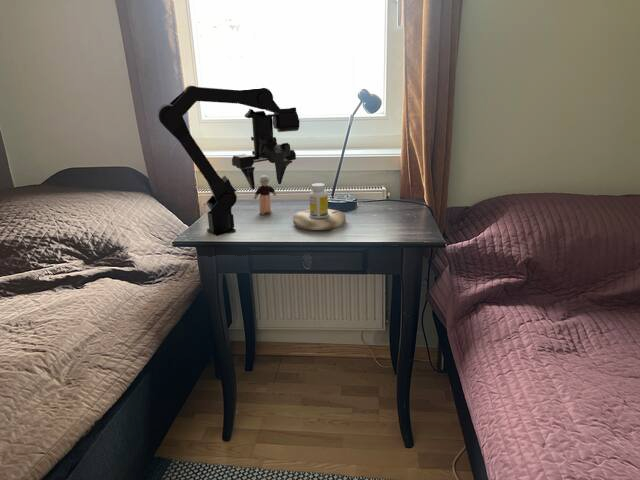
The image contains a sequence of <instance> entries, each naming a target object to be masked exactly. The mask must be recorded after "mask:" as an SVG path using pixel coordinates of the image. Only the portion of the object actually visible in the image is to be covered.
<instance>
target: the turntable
mask: <svg viewBox="0 0 640 480" xmlns="http://www.w3.org/2000/svg"><path fill="white" fill-rule="evenodd" d="M346 217H347V216H346V213H344V212H342V211H340V210H336V209H331V208H328V216H327V217H325V218H313V217H311V216H310V209H306V210H301V211H298V212H296V213H295V214H293V215H292V221H293V224H294V225H295V227H298V228H302V229H306V230H312V231H314V230H315V231H316V230H317V231H321V230H322V231H323V230H330V229H331V230H332V229H335V228H338V227H339V228H340V227H342V226H343V225H344V224H345V223H346V221H347V220H346V219H347V218H346Z"/></svg>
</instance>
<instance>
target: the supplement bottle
mask: <svg viewBox="0 0 640 480" xmlns="http://www.w3.org/2000/svg"><path fill="white" fill-rule="evenodd" d="M328 202H329V199H328V192H327V191H326V185H325V183H324V182H322V183H321V182H316V183H312V184H311V191H310V193H309V210H310V216H311V217H313V218H325V217H327V216H328V209H329V206H328V205H329V203H328Z"/></svg>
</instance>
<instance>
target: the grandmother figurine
mask: <svg viewBox="0 0 640 480" xmlns="http://www.w3.org/2000/svg"><path fill="white" fill-rule="evenodd" d="M269 182H270V178H269V176H268V175H261V176H260V177H259V183H260V185H261V186H258V188H257V190H256V191H255V194H254V196H253V200H257V199H258V196H259V205H258V206H259V213H258V214H259V215H263V216H264V215H265V214H272V213H273V211H272V210H271V207H272V204H271V193H272V196H274V197H275V196H277V193H276V191H275V189H274V188H273V187H272V186H270V185H269Z"/></svg>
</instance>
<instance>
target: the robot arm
mask: <svg viewBox="0 0 640 480" xmlns="http://www.w3.org/2000/svg"><path fill="white" fill-rule="evenodd" d="M197 102H206V103H224V104H240V105H243V106H247V107H250V108H249V109H248V111H247V112H246V113H245V114H244V117H245V118H247V119H251V124H252V135H253V136H251V137H250V140H251V141H252V142H253V149H254V150H252V152H251V153H252V154H251V155H250V154H245V153H243V154H235V155H233V157H232V159H231V165H232V166H234V167H236V168H237V169H239V170H241V172H242V174H243V175H244V177H245V178H246V181H247V182H248V185H249V186H250V188H251V190H255V185H256V184H255V177H254V175H255V174H254V171H255V169H256V167H255V166H253V165H254V163H261V162H267V161H268V162H269V163H272V164H274V167H275V174H276V175H275V176H276V180H277V184H278V185H282V181H283V177H284V176H285V172H286V169H287V167H288V166H289V165H290V164H292V163H293V161H294V160H297V154H296V151H295V150H294V149H291V145H290V143H289V142H284V143H281V144H278V142H277V137H276V136H274V130H276V131H277V132H278V133H286V132H287V133H289V132H298V131H299V129H300V119H299V114H298V112H297V107H295V106H288V107H283V108H282V107H281V108H280V106H279V105H278V104H277V103H276V102H275V100H274V95H273V93H272V91H271V90H270V89H268V88H266V87H260V86H256V87H248V88H241V89H232V88H216V87H202V86H196V85H188V86H186V87H185V89H184V90H183V91H182V92H180V93H179V95H177V96H176V97H175V98H174V99H173V100H172V101H170V102H169V103H165V104H162V105H161V106H160V107H159V108H158V109H157V114H156V115H157V118H158V121H159V122H160V123H161V124H162V126H163V127H164V128H165V129H166V130H167V131H168V132H169V133H170V134H171V135H172V136H173V137H174V138H175V139H176V140H177V141H178V143H180V145H181V146H182V148H183V149H184V151H185V152H186V153H187V155H188V156H189V157H190V159H191V160H192V162H193V163H194V165H195V166H196V167H197V169H198V170H199V172H200V174H201V175H202V176H203V178H204V179H205V182H206V183H207V185H208V188H209V190H210V192H211V196H210V198H209V199H208V200H207V201H206V205H207V207H208V208H209V211H207V213H206V215H207V221H208V228H207V229H206V231H207V232H208V233H211V235H214V236H223V235H226V234H231V233H235V232H236V231H237V230H236V228H235V220H234V214H233V213H232V208H233V206H234V205H236V203H237V199H238V196H237V194H236V192H237V189H236V188H235V187H234V185H232V182H231V181H230V179H229V178H228V177H227V176H226V175H223V176H222V177H221V176H220V175H219V174H218V173H217V171H216V169H214V167H213V165H212V163H210V161H209V159H208V158H207V157H206V155H205V154H204V152H203V151H202V149H201V148H200V147H199V144H198V143H197V142H196V139H194V137H193V136H192V134H191V133H190V130H189V128H188V126H187V125H188V124H187V123H186V121H185V118H184V115H185V114H186V113H188V112H189V110H190V109H191V108H192V107H193V106H194V105H195V103H197ZM252 108H254V109H259V111H258V110H256V111H254V110H253V109H252ZM266 111H267V112H270V113H266Z"/></svg>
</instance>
